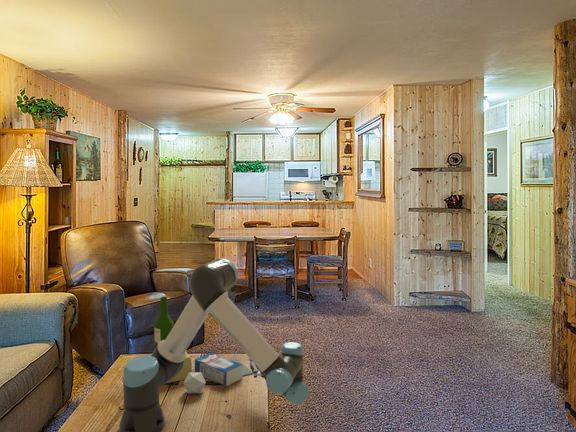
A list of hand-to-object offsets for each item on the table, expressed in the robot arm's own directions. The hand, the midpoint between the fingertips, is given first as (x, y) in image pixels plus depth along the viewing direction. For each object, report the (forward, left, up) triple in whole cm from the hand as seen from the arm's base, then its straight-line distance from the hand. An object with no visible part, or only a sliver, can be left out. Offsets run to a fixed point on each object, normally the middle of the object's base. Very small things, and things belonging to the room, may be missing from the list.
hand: (250, 356), depth 178 cm
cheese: (-23, +28, -15) cm, 39 cm away
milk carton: (-3, +10, -11) cm, 15 cm away
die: (-21, +10, -14) cm, 27 cm away
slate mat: (-2, +23, -14) cm, 27 cm away
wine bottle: (-25, +42, -14) cm, 51 cm away
